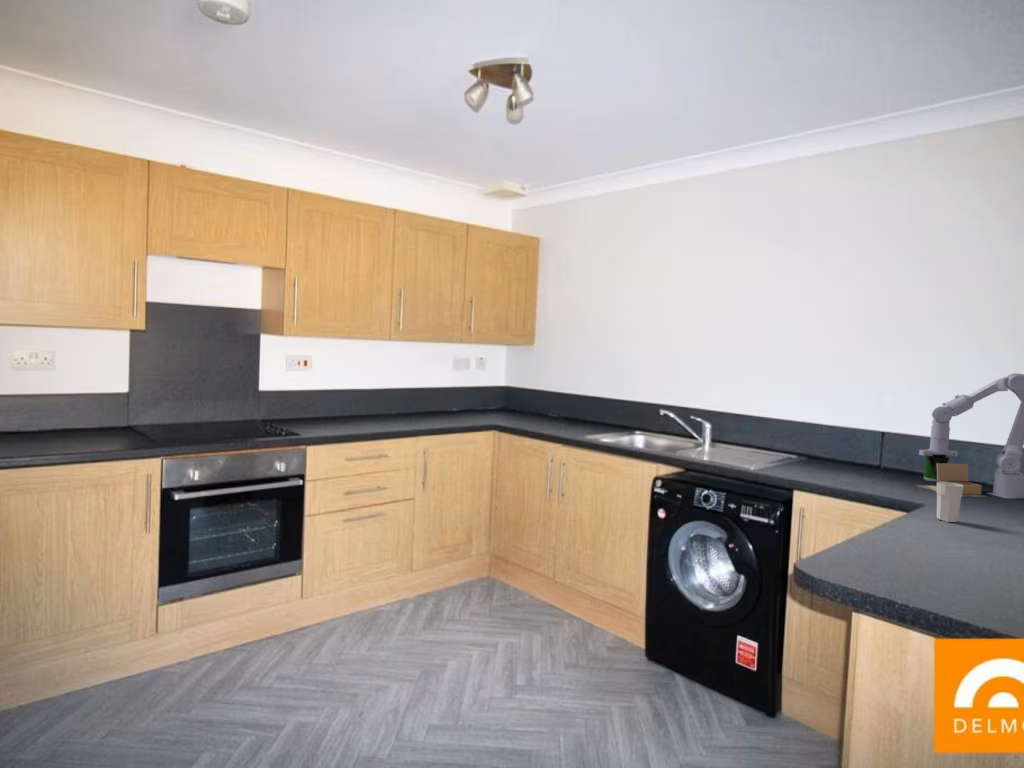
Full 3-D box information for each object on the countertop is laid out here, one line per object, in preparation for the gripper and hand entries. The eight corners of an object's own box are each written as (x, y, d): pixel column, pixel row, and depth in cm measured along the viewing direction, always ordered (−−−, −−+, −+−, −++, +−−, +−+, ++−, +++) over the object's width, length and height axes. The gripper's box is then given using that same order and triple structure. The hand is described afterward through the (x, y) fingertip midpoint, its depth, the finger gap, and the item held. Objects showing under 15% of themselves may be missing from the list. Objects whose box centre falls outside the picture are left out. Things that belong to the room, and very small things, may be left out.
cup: (948, 524, 188) (951, 486, 188) (928, 518, 195) (931, 481, 194) (966, 523, 190) (969, 486, 190) (945, 517, 197) (948, 481, 196)
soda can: (942, 484, 251) (945, 453, 250) (920, 481, 256) (923, 450, 256) (948, 482, 256) (951, 452, 255) (927, 479, 261) (929, 449, 261)
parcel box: (966, 491, 237) (967, 481, 237) (980, 495, 231) (981, 485, 231) (937, 490, 235) (937, 481, 235) (950, 494, 229) (951, 484, 229)
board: (948, 487, 246) (948, 485, 246) (988, 498, 229) (988, 496, 229) (915, 487, 244) (915, 485, 244) (953, 497, 227) (953, 496, 227)
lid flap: (968, 481, 236) (967, 481, 237) (967, 463, 237) (966, 463, 237) (938, 480, 234) (937, 480, 235) (937, 463, 235) (936, 463, 236)
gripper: (948, 437, 247) (945, 473, 248) (914, 436, 245) (911, 472, 246) (963, 440, 240) (960, 477, 241) (928, 439, 238) (925, 476, 239)
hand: (936, 475), depth 243 cm, fingers closed
